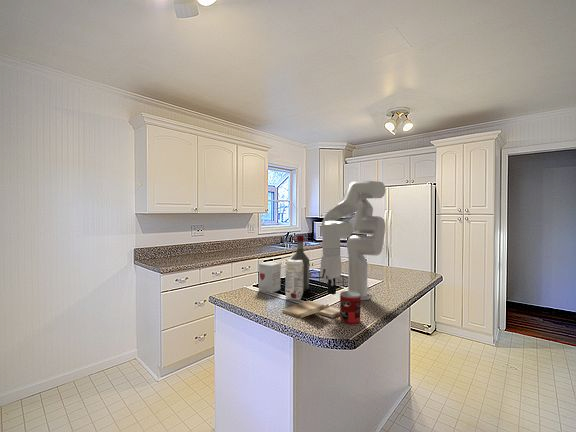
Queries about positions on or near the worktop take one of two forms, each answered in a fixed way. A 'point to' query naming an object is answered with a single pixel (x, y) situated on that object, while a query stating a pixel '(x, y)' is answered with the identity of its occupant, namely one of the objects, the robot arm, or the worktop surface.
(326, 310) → the plank
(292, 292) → the juice carton
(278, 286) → the supplement box
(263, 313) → the worktop surface
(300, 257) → the liquor
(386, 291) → the worktop surface
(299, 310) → the brown wooden board
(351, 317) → the canned food
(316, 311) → the plank
